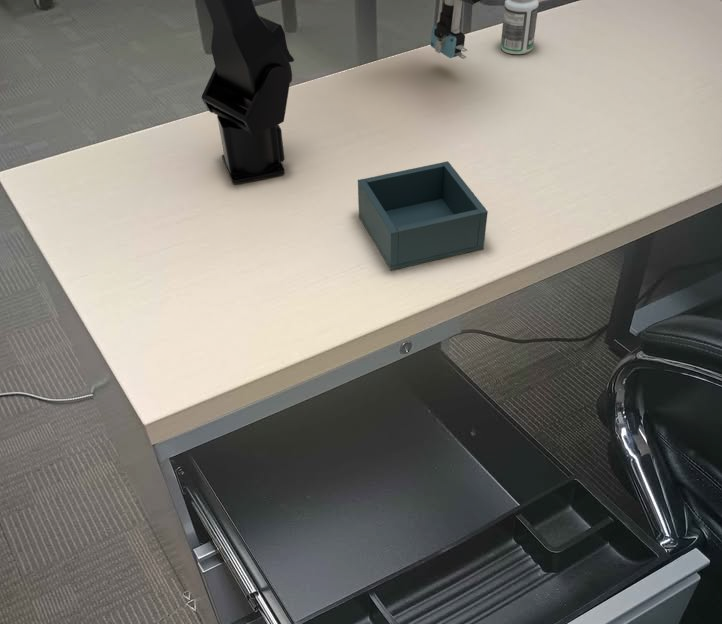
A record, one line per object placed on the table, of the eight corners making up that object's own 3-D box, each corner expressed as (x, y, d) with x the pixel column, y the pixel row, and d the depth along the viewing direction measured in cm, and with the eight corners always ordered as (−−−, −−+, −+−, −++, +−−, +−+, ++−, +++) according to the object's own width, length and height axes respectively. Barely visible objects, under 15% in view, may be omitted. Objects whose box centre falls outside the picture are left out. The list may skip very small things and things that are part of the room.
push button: (478, 57, 105) (490, -25, 97) (448, 67, 103) (458, -16, 95) (448, 39, 108) (457, -42, 100) (418, 47, 106) (425, -34, 98)
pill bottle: (525, 39, 114) (533, -26, 107) (537, 52, 111) (547, -13, 104) (495, 43, 113) (501, -21, 106) (507, 57, 110) (514, -9, 103)
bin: (390, 270, 80) (390, 233, 76) (358, 216, 86) (357, 179, 83) (483, 249, 82) (488, 211, 78) (445, 197, 88) (448, 160, 85)
